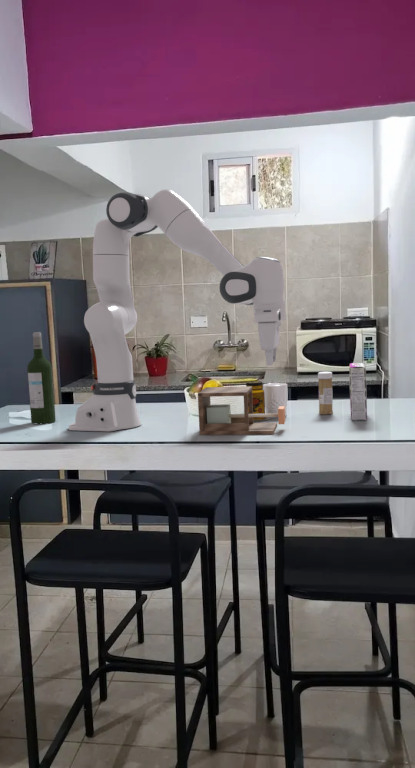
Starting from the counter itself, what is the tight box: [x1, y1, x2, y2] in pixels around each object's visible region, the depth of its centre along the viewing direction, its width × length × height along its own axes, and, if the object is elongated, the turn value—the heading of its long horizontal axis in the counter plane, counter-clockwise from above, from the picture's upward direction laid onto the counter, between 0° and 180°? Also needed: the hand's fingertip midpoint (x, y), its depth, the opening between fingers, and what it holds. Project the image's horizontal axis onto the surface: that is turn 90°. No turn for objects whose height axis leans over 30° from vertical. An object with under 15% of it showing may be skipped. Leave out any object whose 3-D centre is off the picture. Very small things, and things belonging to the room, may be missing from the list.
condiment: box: [245, 380, 270, 422], centre depth 220 cm, size 7×8×12 cm
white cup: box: [263, 382, 288, 416], centre depth 226 cm, size 8×8×10 cm
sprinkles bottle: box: [317, 371, 334, 415], centre depth 224 cm, size 5×5×13 cm
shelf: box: [197, 386, 278, 436], centre depth 202 cm, size 21×13×12 cm, turn 80°
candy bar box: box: [348, 362, 368, 421], centre depth 214 cm, size 11×5×16 cm, turn 168°
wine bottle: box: [26, 331, 56, 425], centre depth 232 cm, size 8×8×30 cm
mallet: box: [207, 403, 286, 425], centre depth 202 cm, size 22×6×6 cm, turn 80°
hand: (271, 363), depth 199 cm, fingers open, 8 cm apart
